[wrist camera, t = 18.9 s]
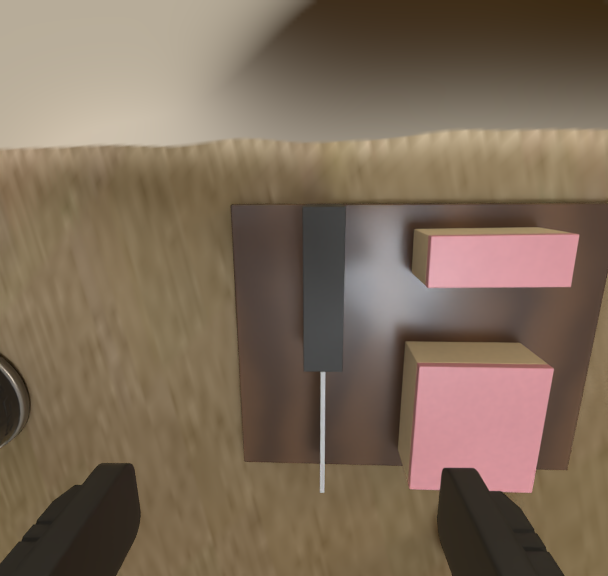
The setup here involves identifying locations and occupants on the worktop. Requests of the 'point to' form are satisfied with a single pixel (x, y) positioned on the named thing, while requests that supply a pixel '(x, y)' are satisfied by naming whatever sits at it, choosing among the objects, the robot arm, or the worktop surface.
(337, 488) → the worktop surface
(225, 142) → the worktop surface
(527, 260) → the pink and tan block
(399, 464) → the cake board
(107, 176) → the worktop surface
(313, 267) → the knife
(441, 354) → the cake
